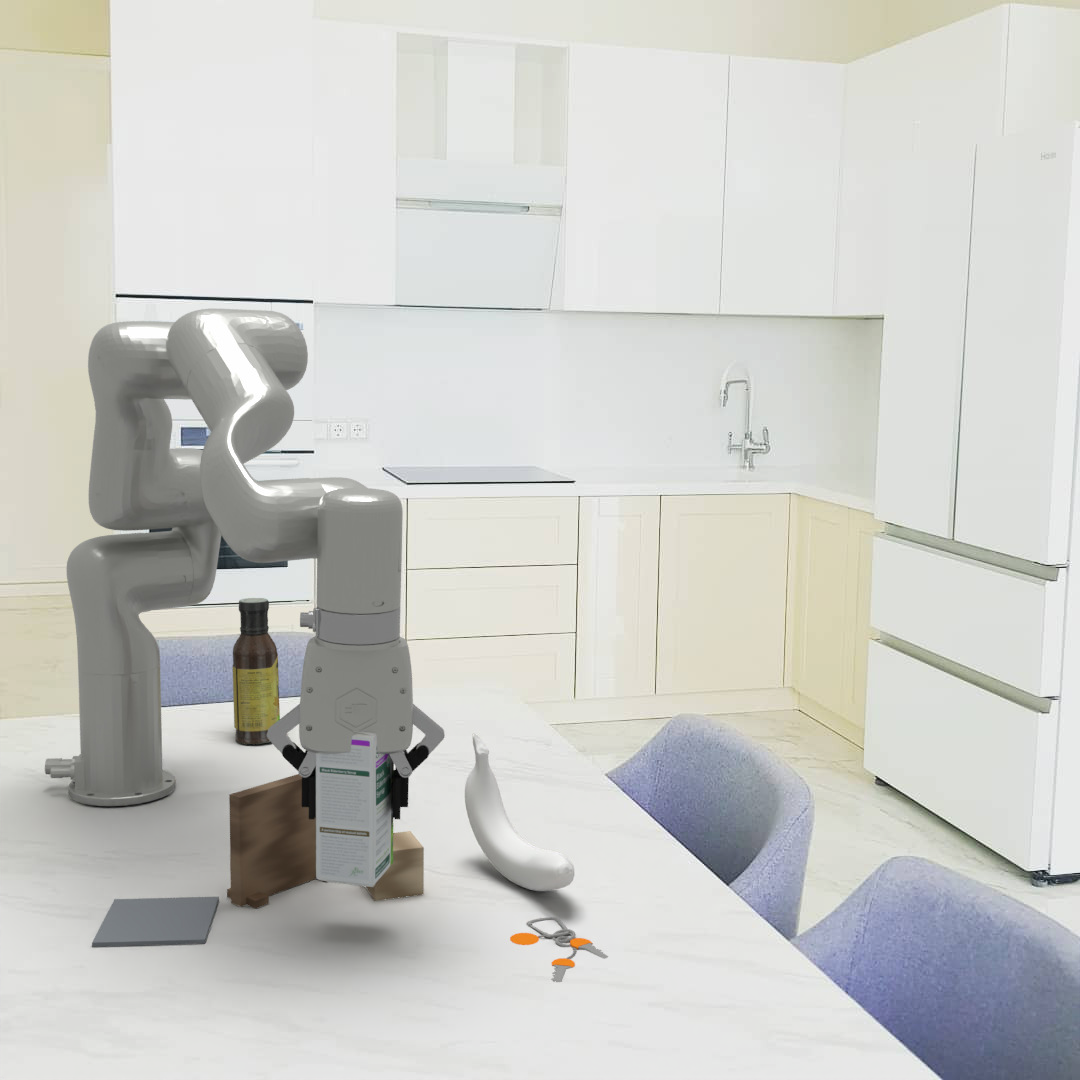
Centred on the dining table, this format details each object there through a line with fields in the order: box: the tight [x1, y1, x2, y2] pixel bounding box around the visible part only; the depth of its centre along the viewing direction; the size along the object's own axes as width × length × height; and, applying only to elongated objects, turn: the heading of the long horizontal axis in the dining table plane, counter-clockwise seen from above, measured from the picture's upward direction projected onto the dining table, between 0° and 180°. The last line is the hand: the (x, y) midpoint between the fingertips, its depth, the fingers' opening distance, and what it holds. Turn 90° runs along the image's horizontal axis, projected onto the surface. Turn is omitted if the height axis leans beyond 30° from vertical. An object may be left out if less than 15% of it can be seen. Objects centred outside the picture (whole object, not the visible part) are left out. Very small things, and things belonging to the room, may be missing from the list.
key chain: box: [509, 916, 609, 983], centre depth 124 cm, size 13×7×1 cm, turn 24°
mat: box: [91, 896, 220, 948], centre depth 128 cm, size 10×10×1 cm
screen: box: [226, 773, 327, 909], centre depth 136 cm, size 12×4×11 cm, turn 141°
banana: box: [464, 733, 575, 892], centre depth 138 cm, size 5×19×15 cm, turn 37°
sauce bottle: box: [232, 597, 281, 746], centre depth 188 cm, size 6×6×20 cm
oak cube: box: [364, 830, 425, 902], centre depth 137 cm, size 5×5×5 cm
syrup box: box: [316, 731, 395, 887], centre depth 125 cm, size 6×6×14 cm
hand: (355, 812), depth 125 cm, fingers closed on syrup box, 7 cm apart
